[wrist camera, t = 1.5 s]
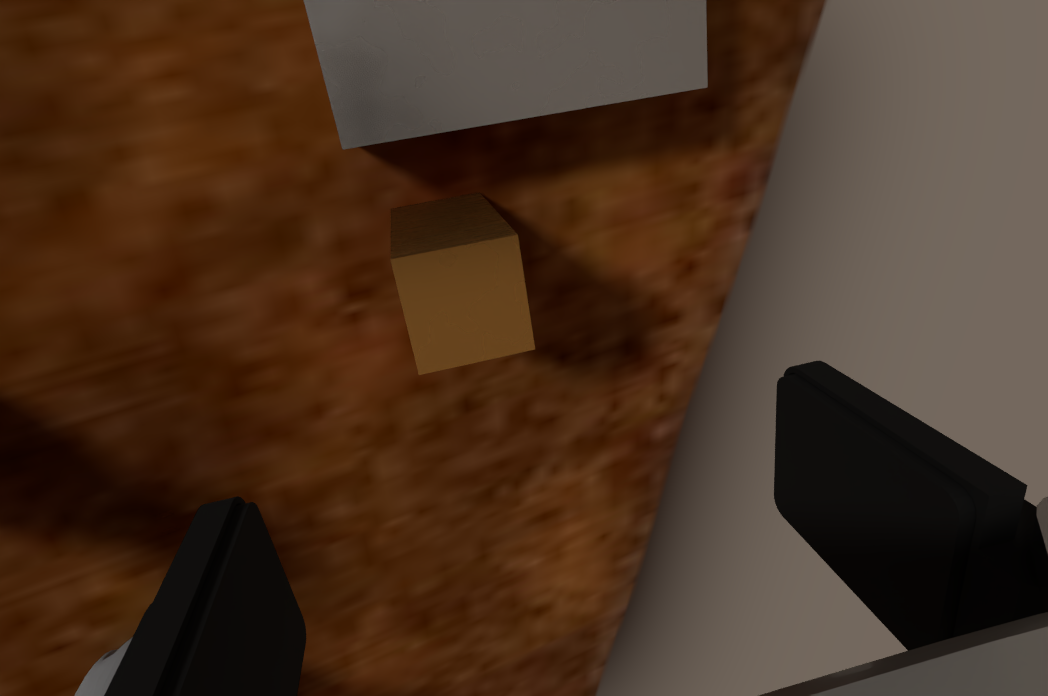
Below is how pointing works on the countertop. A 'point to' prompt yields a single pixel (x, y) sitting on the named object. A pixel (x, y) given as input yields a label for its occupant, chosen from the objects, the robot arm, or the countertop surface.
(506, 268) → the wooden block
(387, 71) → the white flat block
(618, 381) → the countertop surface
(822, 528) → the robot arm
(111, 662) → the bottle
